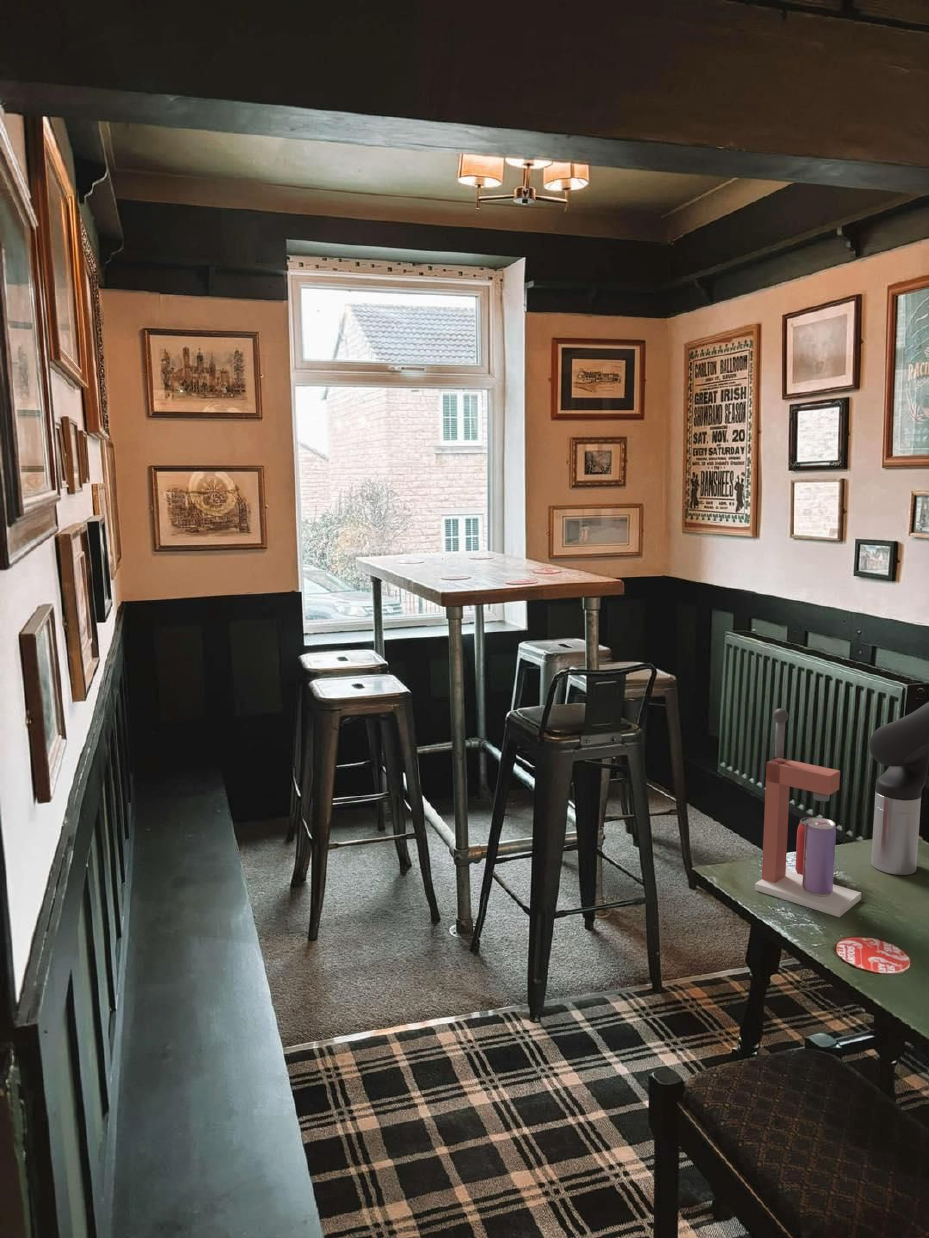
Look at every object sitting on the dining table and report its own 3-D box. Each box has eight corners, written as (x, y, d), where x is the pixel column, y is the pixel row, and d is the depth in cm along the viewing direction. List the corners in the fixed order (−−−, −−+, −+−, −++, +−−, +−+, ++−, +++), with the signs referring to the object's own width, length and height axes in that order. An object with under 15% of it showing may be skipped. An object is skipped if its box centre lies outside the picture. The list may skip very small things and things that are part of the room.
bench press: (778, 874, 201) (785, 702, 195) (860, 899, 188) (871, 717, 183) (754, 889, 193) (762, 712, 188) (839, 917, 181) (849, 727, 175)
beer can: (832, 874, 201) (835, 822, 199) (816, 882, 197) (818, 829, 195) (806, 864, 206) (808, 814, 204) (789, 872, 202) (791, 820, 200)
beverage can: (835, 898, 185) (838, 828, 183) (804, 895, 187) (807, 826, 185) (829, 886, 191) (833, 818, 189) (799, 883, 192) (803, 816, 190)
